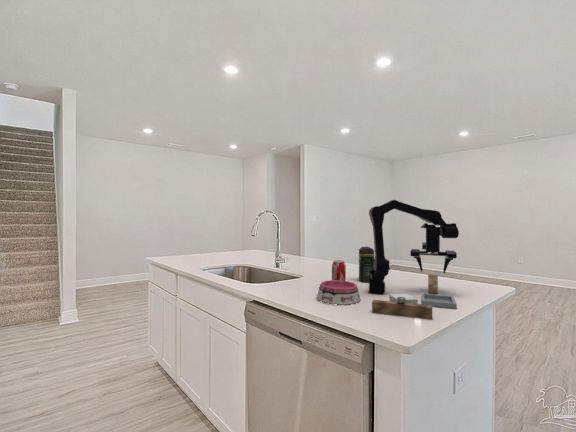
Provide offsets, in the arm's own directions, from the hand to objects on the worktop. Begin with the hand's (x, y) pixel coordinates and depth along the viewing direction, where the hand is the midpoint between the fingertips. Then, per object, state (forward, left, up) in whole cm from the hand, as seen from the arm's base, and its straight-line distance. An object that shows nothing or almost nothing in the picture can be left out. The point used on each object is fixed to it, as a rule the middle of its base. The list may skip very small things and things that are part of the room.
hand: (432, 272), depth 139 cm
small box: (-11, -31, -10) cm, 34 cm away
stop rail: (-12, -37, -9) cm, 40 cm away
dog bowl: (-37, -25, -10) cm, 46 cm away
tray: (+1, -17, -9) cm, 20 cm away
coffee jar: (-32, +16, -10) cm, 37 cm away
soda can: (-44, +2, -10) cm, 45 cm away
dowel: (0, 0, -10) cm, 10 cm away
